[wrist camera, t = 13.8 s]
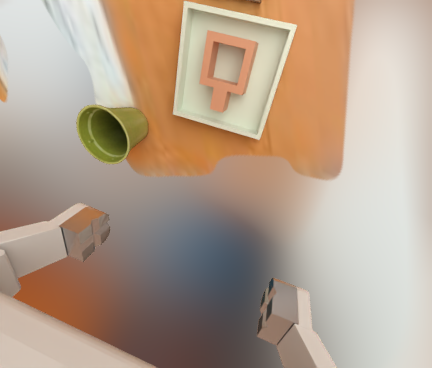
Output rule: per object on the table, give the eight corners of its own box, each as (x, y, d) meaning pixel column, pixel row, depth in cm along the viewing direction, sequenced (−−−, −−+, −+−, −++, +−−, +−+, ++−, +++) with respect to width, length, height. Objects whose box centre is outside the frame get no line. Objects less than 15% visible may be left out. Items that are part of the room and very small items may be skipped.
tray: (179, 111, 38) (172, 114, 36) (191, 5, 30) (184, 0, 28) (261, 135, 36) (259, 140, 34) (296, 28, 28) (297, 25, 26)
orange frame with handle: (214, 32, 30) (207, 30, 28) (258, 43, 30) (255, 41, 27) (202, 102, 35) (196, 105, 33) (240, 112, 34) (236, 116, 32)
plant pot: (132, 86, 38) (95, 91, 31) (166, 131, 40) (139, 145, 33) (104, 116, 43) (66, 127, 35) (137, 155, 45) (107, 173, 38)
